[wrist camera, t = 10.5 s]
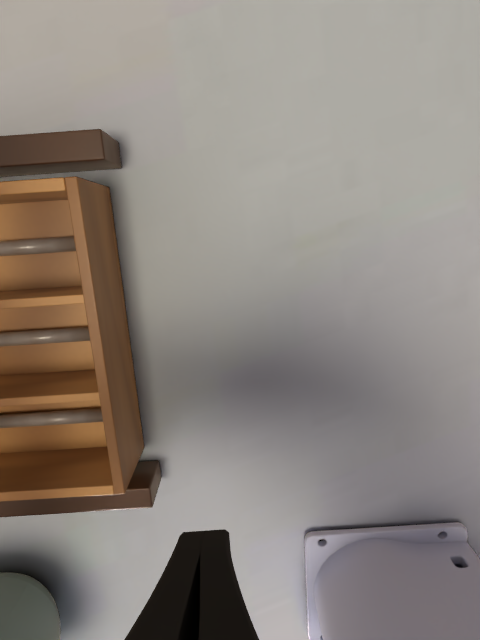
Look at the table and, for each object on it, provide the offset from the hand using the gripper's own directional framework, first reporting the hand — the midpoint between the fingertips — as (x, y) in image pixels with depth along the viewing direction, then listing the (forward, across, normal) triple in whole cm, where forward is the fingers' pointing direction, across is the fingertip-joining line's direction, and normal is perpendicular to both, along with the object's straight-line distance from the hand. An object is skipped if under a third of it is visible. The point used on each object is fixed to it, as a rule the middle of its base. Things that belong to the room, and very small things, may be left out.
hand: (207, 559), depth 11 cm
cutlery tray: (+11, +9, -4) cm, 15 cm away
